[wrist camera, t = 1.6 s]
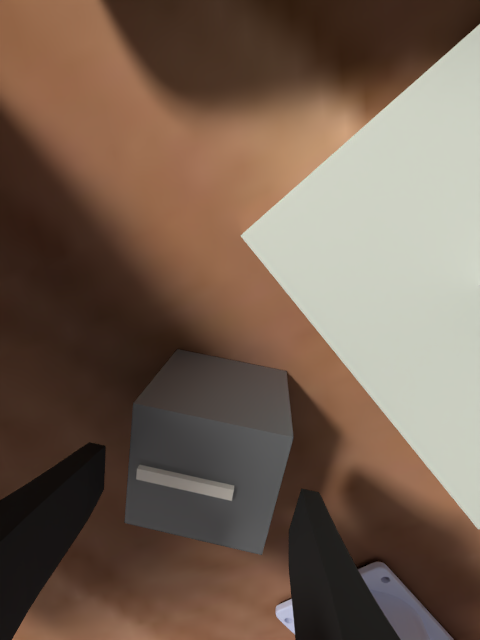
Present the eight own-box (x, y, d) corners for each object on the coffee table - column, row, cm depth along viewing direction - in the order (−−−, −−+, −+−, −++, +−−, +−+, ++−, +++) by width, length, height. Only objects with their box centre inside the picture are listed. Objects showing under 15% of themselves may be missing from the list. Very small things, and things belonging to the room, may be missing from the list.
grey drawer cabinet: (286, 371, 15) (293, 441, 10) (264, 461, 16) (261, 560, 11) (177, 349, 15) (130, 406, 10) (166, 439, 17) (122, 527, 12)
